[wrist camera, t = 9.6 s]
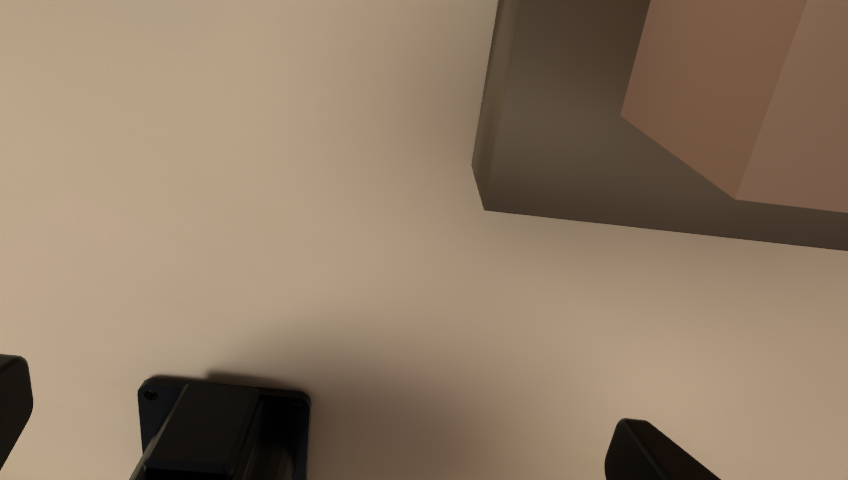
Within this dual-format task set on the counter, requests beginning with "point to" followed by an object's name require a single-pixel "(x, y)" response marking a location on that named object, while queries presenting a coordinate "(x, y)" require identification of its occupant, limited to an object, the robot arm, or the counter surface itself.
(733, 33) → the brown cube
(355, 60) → the counter surface
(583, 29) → the walnut base
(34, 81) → the counter surface
